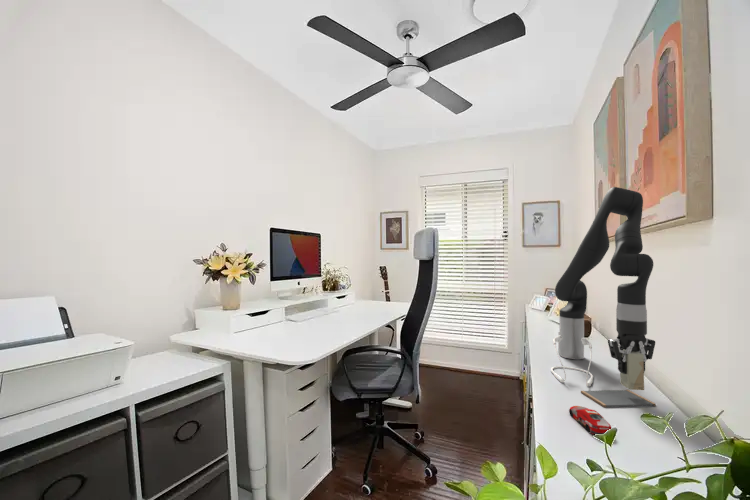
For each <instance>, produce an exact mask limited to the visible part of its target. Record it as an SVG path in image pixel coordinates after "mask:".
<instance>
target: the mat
mask: <svg viewBox="0 0 750 500" xmlns="http://www.w3.org/2000/svg"><path fill="white" fill-rule="evenodd" d="M580 393H581V394H582V395H583V396H585V397H586V398H588V399H589V400H592V401H593V402H594V403H596V404H598V405H599V406H601V407H603V408H629V407H631V408H632V407H633V408H635V407H638V408H639V407H656V403H655V402H653V401H651V400H649V399H647V398H645V397H644V396H642V395H640V394H638V393H636V392H634V391H632V390H631V389H615V390H612V389H611V390H606V389H605V390H580Z"/></svg>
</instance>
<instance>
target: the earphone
mask: <svg viewBox="0 0 750 500" xmlns="http://www.w3.org/2000/svg"><path fill="white" fill-rule="evenodd" d="M562 339H563V338H562V336H561V335H559V334H558V335H556V336H555V337H553V340H552V343H553V345H554V348H555V351H556V355H557V357H558V360H559V362H560V365H559V366H557V365H556V366H552V367H550V372H551V373H552V374H553V375H554V377H555V378H556V379H557V381H559V382H560V383H562V384H563V383H565V381H566V379H567V377H566V374H567V373H566V370H565V369H567V370H575V371H578V372H579V371H580V372H582V373H586V378H585V379H586V380H585V382H586V386H587V387H591V386H592V384H593V383H594V380H593V379H594V375H593V374H592V373H591V372H590V367H591V365H592V355H593V354H592V353H593V351H592V348H593V346H592V343H591V342H590V341H589V340H588V339H587V338H585V337H584V338H582V339H581V341H582V344H583V345H584V346H588V348H589V350H590V358H589V364H588V367H587V370H585V369H582V368H577V367H571V366H564V365H563V362H562V360H561V358H560V357H561V356H560V355H559V353H558V349H557V346H556V345H557V343H558V342H561V340H562ZM554 369H563V373H564V379H563V378H562V376H560V375H559V374H558V373H556V372H555V371H554ZM588 375H590V378H588V377H589V376H588Z"/></svg>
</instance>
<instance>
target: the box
mask: <svg viewBox="0 0 750 500" xmlns="http://www.w3.org/2000/svg"><path fill="white" fill-rule="evenodd" d="M623 351H626V350H624V349H623ZM622 357H623V355H622ZM626 362H627V374H623V373H620V372H619V373H620V385H622V386H623V387H625V388H626V389H627V390H630V391H632V390H633V391H645V372H644V354H642V353H640V352H636V351H632V352H631V353H628V355H627V360H626Z"/></svg>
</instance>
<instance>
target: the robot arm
mask: <svg viewBox="0 0 750 500" xmlns="http://www.w3.org/2000/svg"><path fill="white" fill-rule="evenodd" d="M643 207H644V197H643V195H642V193H640V192H638V191H635V190H631V189H627V188H622V187H617V186H613V187H611V188H609V189H608V190H607V192H606V193H605V195H604V197H603V199H602V201H601V204H600V206H599V208H598V210H597V212H596V215H595V217H594V219H593V221H592V223H591V225H590V227H589V229H588V231H587V233H586V234H585V236H584V237H583V239H582V242H581V243H580V245H579V247H578V248H577V251H576V253H575V255H574V256H573V257H572V260H571V261H570V263H569V265H568V267H567V268H566V270H565V271H564V273H563V274H562V275H561V277H560V278H559V279H558V281H557V283H556V285H555V289H554V294H555V296H556V298H557V299H558V300H559V301H561V302H567V304H566V305H564V306H563V307H562V308H560V309H559V314H558V315H559V331H558V336H559V335H561V336H562V338H563V339H562V340H561V342H557V343H558V349H557V352H558V355H559V357H562V358H565V359H570V360H584V359H585V345H583V344H582V341H581V339H582V338H585V313H586V312H587V303H588V289H587V286H586V284H585V282H584V281H583V280H581V279H582V278H583V277H585V275H587V273H589V272H590V271H592V270H593V269H594V268H596V266H598V265H599V264H600V263H601V262H602V260H603V259H604V257H605V256H606V254H607V253H608V251H609V248H610V238H609V234H608V226H607V225H608V223H607V222H608V219H609V215H610V214H611V213H612V214H615V215H620V216H625V217H627V218H626V220H624V222H622V223H621V224H620V225H619V226H618V227H617V228H616V230H615V232H614V244H615V247H614V248H615V250H614V252H613V255H612V257H611V259H610V264H609V268H610V270H611V272H612V273H613V275H615V276H617V277H618V276H619V277H637V279H636V280H635V281H633V282H630V283H629V282H628V283H621V284H619V285H618V286H617V289H616V290H617V291H616V292H617V294H616V295H617V297H616V298H617V299H616V300H617V305H616V310H615V311H616V313H615V314H616V316H615V317H616V323H615V324H616V330H615V331H616V332H617V336H616V338H614V339H611V338H608V339H607V344H608V348H609V354H610V357H611V358H613V359H615V360H617V370H618V371H619V373H623V374H627V362H626V360H627V355H628V353H631V352H632V351H636V352H640V353H642V354H644V373H645V371H646V362H647V361H648V360H652V359H653V356H654V355H653V354H654V350H655V345H656V340H654V339H650V338H647V337H646V335H648V310H647V305H646V304H647V299H646V298H647V297H646V296H647V286H648V283H649V280H650V277H651V274H652V272H653V269H654V259H653V258H652V257H651V255H649V254H646V253H641V252H642V251H643V240H642V233H641V227H642V226H641V225H642V217H643ZM623 349H624V350H626V351H623ZM622 355H623V357H622Z"/></svg>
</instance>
